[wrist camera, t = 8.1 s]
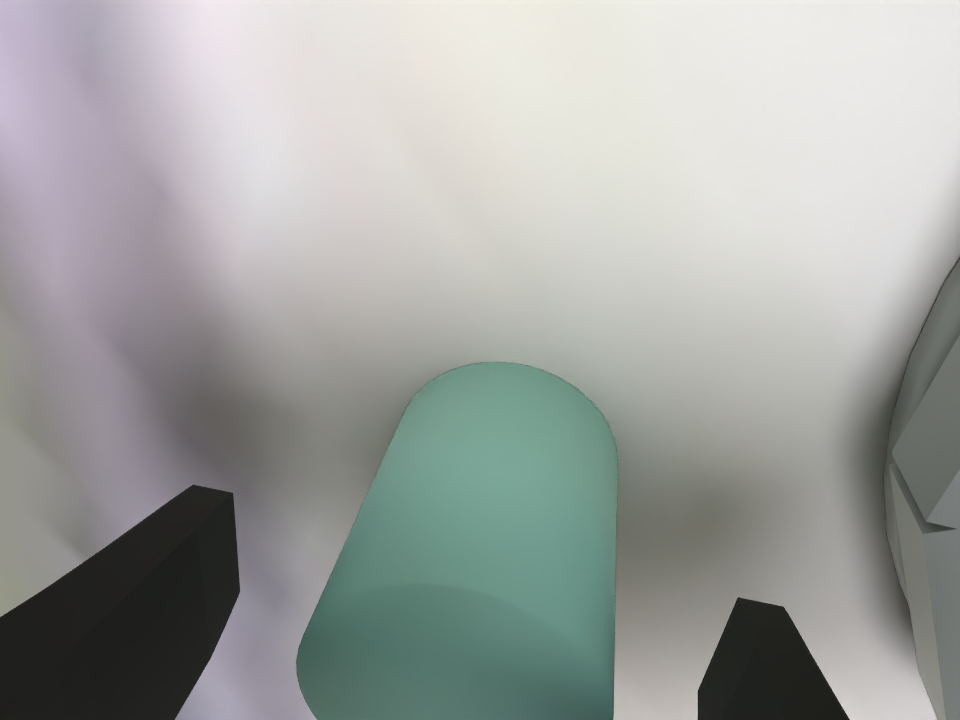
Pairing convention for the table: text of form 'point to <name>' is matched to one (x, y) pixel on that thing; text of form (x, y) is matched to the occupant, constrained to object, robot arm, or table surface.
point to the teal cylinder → (476, 562)
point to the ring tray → (930, 498)
